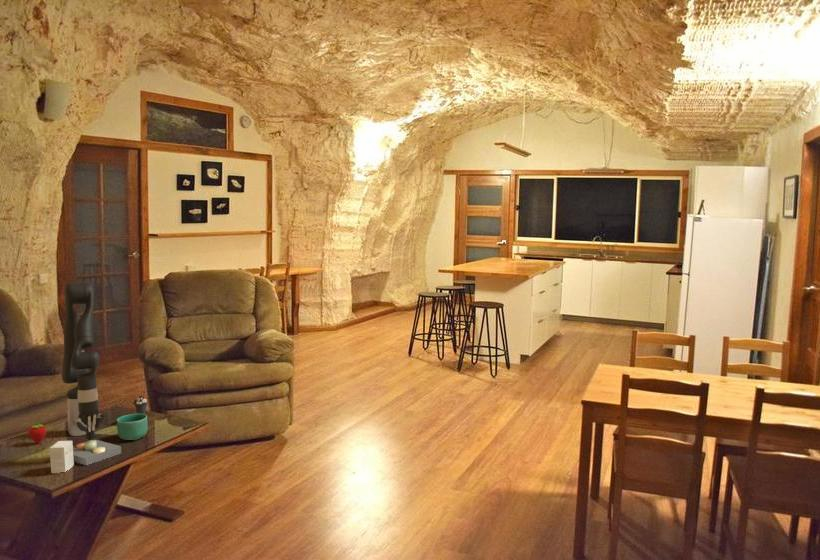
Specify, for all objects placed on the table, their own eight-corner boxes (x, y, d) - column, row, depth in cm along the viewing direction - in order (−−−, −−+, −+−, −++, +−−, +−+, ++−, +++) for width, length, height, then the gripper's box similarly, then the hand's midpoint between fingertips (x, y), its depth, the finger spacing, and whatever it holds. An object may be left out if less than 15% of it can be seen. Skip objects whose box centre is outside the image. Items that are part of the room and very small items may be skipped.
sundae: (152, 421, 320) (150, 391, 318) (141, 425, 314) (139, 394, 312) (142, 419, 323) (140, 389, 321) (131, 423, 317) (129, 393, 315)
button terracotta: (74, 453, 277) (74, 445, 276) (84, 449, 281) (84, 441, 280) (81, 455, 274) (80, 447, 274) (91, 451, 278) (90, 443, 278)
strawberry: (32, 441, 293) (31, 419, 292) (50, 441, 293) (48, 419, 292) (25, 446, 287) (24, 424, 286) (43, 445, 287) (42, 423, 286)
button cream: (90, 457, 271) (90, 449, 271) (101, 454, 275) (100, 446, 275) (97, 459, 269) (97, 451, 268) (107, 456, 273) (107, 448, 272)
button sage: (82, 451, 274) (81, 442, 273) (92, 447, 278) (92, 439, 277) (89, 453, 271) (88, 444, 271) (99, 449, 275) (98, 441, 275)
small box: (59, 466, 263) (58, 440, 262) (74, 465, 264) (72, 440, 263) (50, 473, 256) (49, 447, 254) (65, 473, 256) (63, 447, 255)
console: (60, 458, 272) (60, 451, 272) (95, 446, 286) (95, 439, 286) (86, 465, 263) (85, 458, 263) (121, 453, 277) (121, 446, 277)
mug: (141, 442, 290) (140, 422, 289) (113, 443, 290) (111, 422, 289) (155, 430, 306) (154, 410, 305) (128, 430, 306) (127, 411, 305)
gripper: (97, 394, 280) (99, 433, 281) (67, 401, 268) (70, 443, 270) (108, 396, 276) (110, 436, 278) (78, 404, 265) (81, 446, 266)
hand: (90, 439), depth 274 cm, fingers closed
